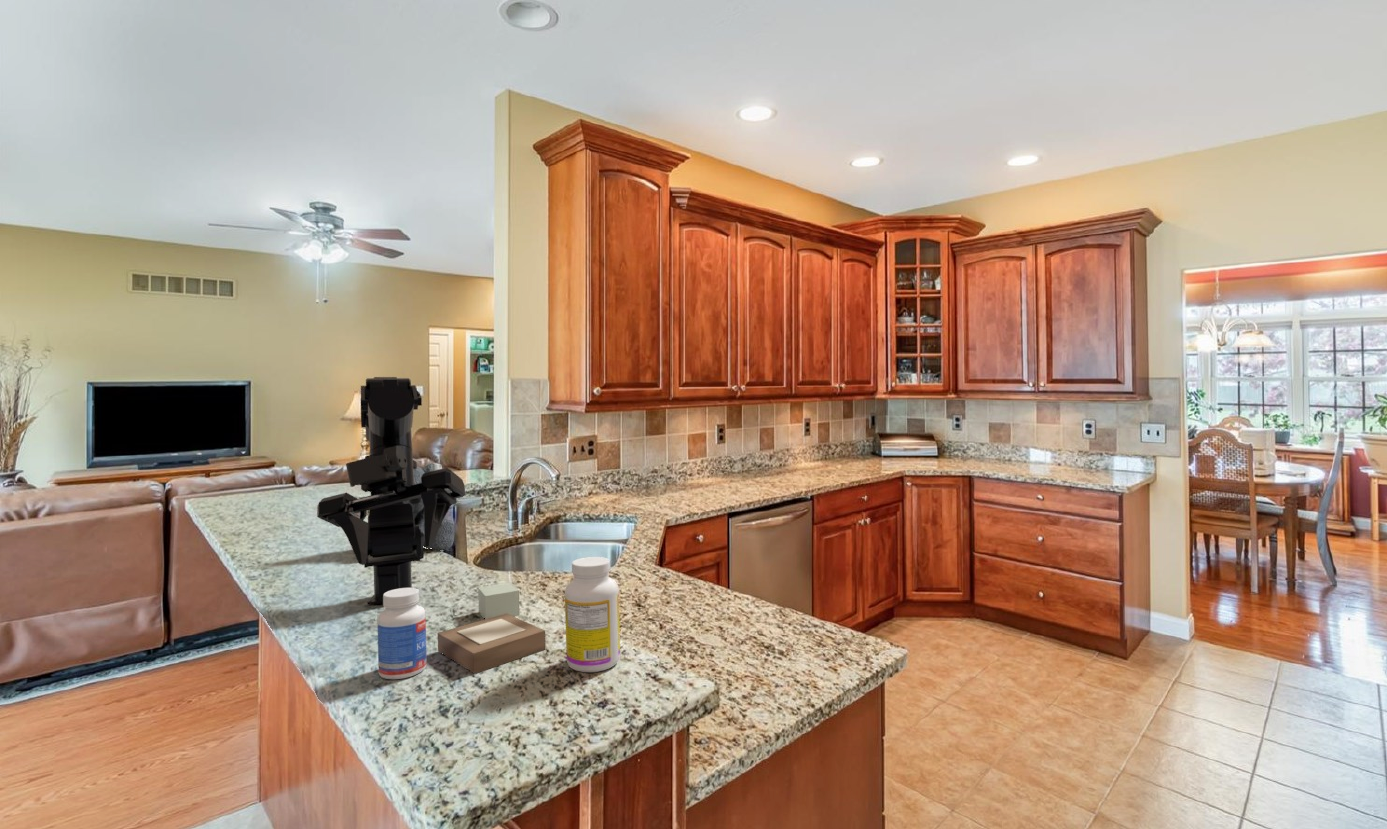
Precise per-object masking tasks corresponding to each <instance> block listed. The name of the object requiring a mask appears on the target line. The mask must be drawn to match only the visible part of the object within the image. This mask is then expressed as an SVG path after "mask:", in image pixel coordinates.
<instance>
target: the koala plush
mask: <svg viewBox="0 0 1387 829" xmlns="http://www.w3.org/2000/svg"><path fill="white" fill-rule="evenodd" d="M442 466H443V464H440V463H436V462H435V461H434V462H433V463H431V462H430V463H428V464H427V465H425V466H424V467H420V466H418V465H417V468H416V469H413V470H414V485H415V484H419V483H421V477H422V475H423V474H424V473H427V472H431V471H435V470H439V469H443V467H442ZM403 502H404V503H405V504H407V503H409V504H410V505H411V506H412V510H413V512H414V521H415V525H419V529H420V530H421V531H422V532H423V533H424V505H423V501H422V498H421V497H419V498H415V499H411V500H407V501H403ZM455 524H456V522H455V520H453V519H451V518H446V517H445V518H444V519H443V521H442V524H441V526H440V528H439V531H438V533H437V536H436V538H435V541H434V543H433V546H432V547H431V548H432V549H433V550H432V551H445V550H448V549H451V547H452V545H453V543H454V540H455V534H456V533H455V530H456V529H455V528H456V525H455ZM424 547H426V544H425V536H424ZM426 548H428V547H426ZM428 549H430V548H428Z"/></svg>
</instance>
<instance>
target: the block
mask: <svg viewBox="0 0 1387 829" xmlns="http://www.w3.org/2000/svg"><path fill="white" fill-rule="evenodd" d="M477 589H478V590H477V594H478V598H477V599H478V613H479V612H480V613H481V614H480V613H479V614H480V615H482V616H483V617H482V616H481V617H482V618H483V619H484V618H485V619H488V618H492V617H495V616H499V615H502V614H509V615H511V616H513V617H518V616H520V590H519V589H518V588H517V587H516V586H515V584H513V583H512V582H505V583H499V584H493V585H487V586H481V587H480V586H479V587H477Z"/></svg>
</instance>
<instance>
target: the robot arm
mask: <svg viewBox="0 0 1387 829" xmlns="http://www.w3.org/2000/svg"><path fill="white" fill-rule="evenodd" d="M411 384H412V382H411V379H410V378H409V377H407V378H406V377H399V378H398V377H397V376H374V377H373V378H369V377H368V378H367V377H366V379H365V385H360V398H359V399H360V400H359V401H360V424H361V426H360V427H361V428H363V429H364V428H365V439H366V441H367V442H368V444H369V454H368V455H366V456H365V457H364V458H362V459H359V460H354V461H350V462H347V463H345V466H346V472H347V476H348V482H349V486H350V487H351V488H354V487H356V486H360V490H361V491H362V492H364V493H367V492H369V493H370V495H367V496H364V497H360V498H357V497H355V496H354V495H352V494H349V493H348V492H343V493H339V494H335V495H331V496H328V497H324V498H321V500H320V501H319V502H318V504H317V508H316V511H317V512H316V515H317V516H316V517H317V518H319V520H323V521H324V522H327V523H329V524H331V525H333V526H336V527H338V528H341V529H342V531H343V533H344V534H345V536H346V537H347V540H348V542H349V544H350V547H351V548H352V551H353V554H354V555H355V558H356V560H357V563H358V564H359V565H361V566H364V568H365V569H366V568H369V567H373V568H372V569H373V590H374V591H373V592H374V594H373V595H372V596H371V597H370V598H369V599H368V600H367V601H366V604H367V605H369V606H370V605H383V594H384V593H386V592H388V591H390V590H394V589H399V588H413V586H412V584H413V583H412V562H421V560H422V559H425V558H424V557H425V556H424V554H425V552H424V549H423V546H424V536H425V544H426V547H428V548H431V547H432V546H433V543H434V541H435V538H436V536H437V533H438V531H439V528H440V526H441V524H442V521H443V519H445V518H446V516H447V513H448V512H449V510H450V508H451V506H453V505H456V504H457V502H458V500H457V499H460V498H464V497H465V496H466V489H465V483H464V480H463V479H462V478H461V477H460V476H458V474H457V473H455V472H454V471H452V470H451V469H450V468H448V467H445V468H444V467H442V469H439V470H435V471H431V472H427V473H424V474H423V475H422V477H421V483H419V484H415V485H414V470H413V469H416V468H417V466H418V465H417V464H418V463H417V461H416V460H415V459H414V455H413V454H414V453H413V440H412V428H413V421H414V420H413V419H414V410H419V409H418V408H419V407H420V406H422V405H423V404H422V401H423V400H422V396H421V395H422V394H421V393H420V391H418V389H417V386H416V385H415V384H412V385H411ZM419 497H421V498H422V501H423V505H424V533H423V532H422V531H421V530H420V529H419V525H415V521H414V512H413V510H412V506H411V505H410V504H409V503H407V504H405V503H404V502H403V501H407V500H411V499H415V498H419ZM367 511H368V512H367ZM367 513H369V514H368V515H367ZM366 518H367V521H365V519H366ZM415 588H416V589H418V590H419V588H418V587H415Z"/></svg>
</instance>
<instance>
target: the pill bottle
mask: <svg viewBox="0 0 1387 829" xmlns="http://www.w3.org/2000/svg"><path fill="white" fill-rule="evenodd" d="M416 588H417V587H412V588H399V589H394V590H390V591H388V592H386V593H384V594H383V604H382V605H383V606H382V607H383V608H384V609H383V610H382V611H381V612H380V613H379V614H378V615H377V623H376V624H377V625H376V626H377V650H378V651H377V657H378V658H377V659H378V660H377V661H378V665H377V666H378V675H379V676H380V677H381V678H382V679H386V680H399V679H402V680H403V679H406V678H411V677H413V676H416V675H418V674H420V673H421V672H423V671H424V670H425V668H426V667H427V625H426V624H427V623H426V622H427V621H426V620H427V619H426V610H425V608H424V607H423V606H421V605H419V604H418V603H419V602H420V590H419V588H418V589H416Z"/></svg>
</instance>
